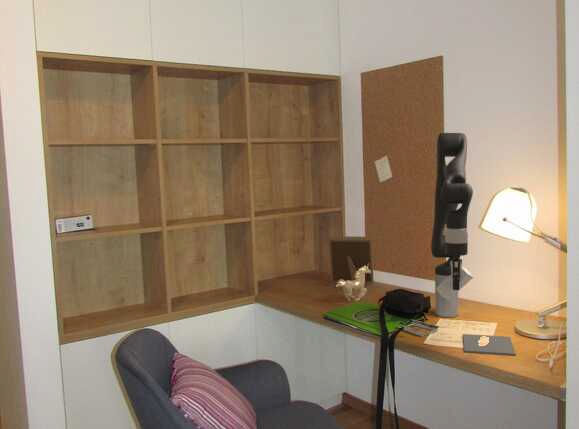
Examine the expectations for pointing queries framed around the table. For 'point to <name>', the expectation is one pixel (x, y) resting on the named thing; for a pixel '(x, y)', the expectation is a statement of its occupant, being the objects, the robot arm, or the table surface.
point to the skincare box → (447, 285)
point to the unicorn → (355, 283)
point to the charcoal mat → (488, 345)
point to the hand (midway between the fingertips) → (456, 287)
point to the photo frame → (350, 257)
